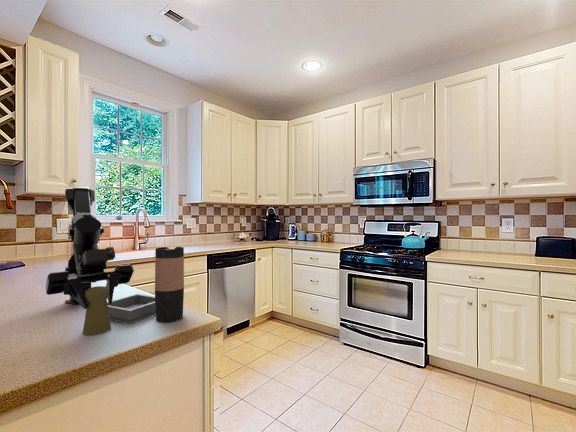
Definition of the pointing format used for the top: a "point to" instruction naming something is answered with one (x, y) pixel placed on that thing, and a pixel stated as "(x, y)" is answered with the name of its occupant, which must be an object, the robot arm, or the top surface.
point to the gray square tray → (132, 308)
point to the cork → (96, 311)
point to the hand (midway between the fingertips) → (98, 305)
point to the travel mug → (169, 284)
